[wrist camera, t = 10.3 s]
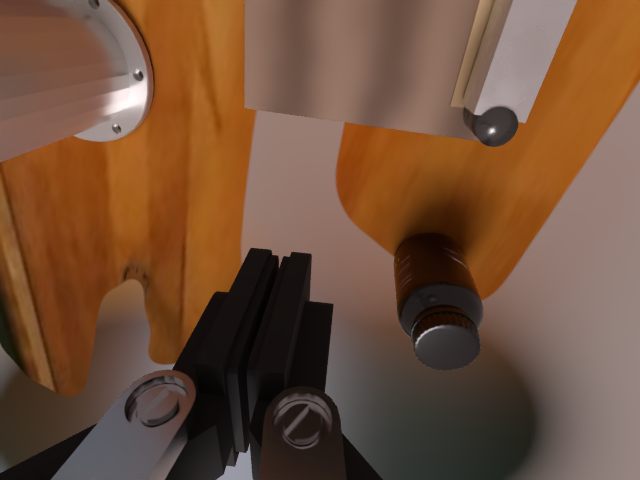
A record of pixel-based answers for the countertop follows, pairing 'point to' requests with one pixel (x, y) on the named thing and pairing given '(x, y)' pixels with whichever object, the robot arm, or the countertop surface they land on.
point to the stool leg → (512, 65)
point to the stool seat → (365, 60)
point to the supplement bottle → (437, 301)
